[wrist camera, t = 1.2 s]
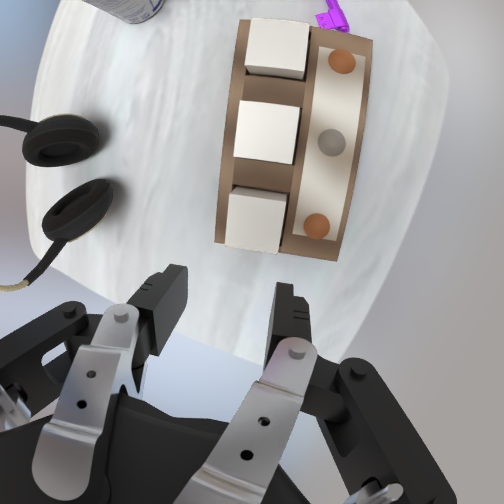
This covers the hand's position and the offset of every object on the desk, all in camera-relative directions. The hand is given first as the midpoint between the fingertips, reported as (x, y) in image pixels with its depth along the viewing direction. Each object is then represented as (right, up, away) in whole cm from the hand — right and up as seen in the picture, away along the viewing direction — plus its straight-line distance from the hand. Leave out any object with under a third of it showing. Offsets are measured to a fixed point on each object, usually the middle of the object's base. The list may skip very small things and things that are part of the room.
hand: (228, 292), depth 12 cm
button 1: (+2, +5, +12) cm, 13 cm away
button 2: (+3, +18, +6) cm, 19 cm away
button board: (+5, +12, +11) cm, 17 cm away
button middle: (+2, +11, +9) cm, 15 cm away
